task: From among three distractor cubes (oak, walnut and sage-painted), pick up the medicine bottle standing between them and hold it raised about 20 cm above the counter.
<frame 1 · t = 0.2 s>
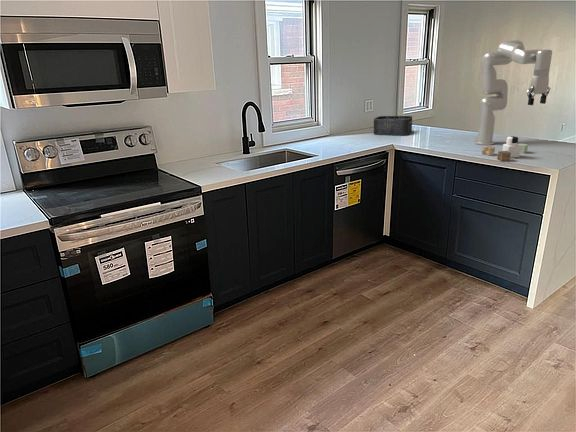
hand: (536, 104, 243), 31 cm above the countertop, tool pointing down, fingers open, 9 cm apart
sage cube: (521, 152, 264), on the countertop
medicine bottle: (510, 156, 255), on the countertop
oak cube: (487, 154, 263), on the countertop
walnut cube: (503, 160, 248), on the countertop
storage bin: (392, 133, 350), on the countertop
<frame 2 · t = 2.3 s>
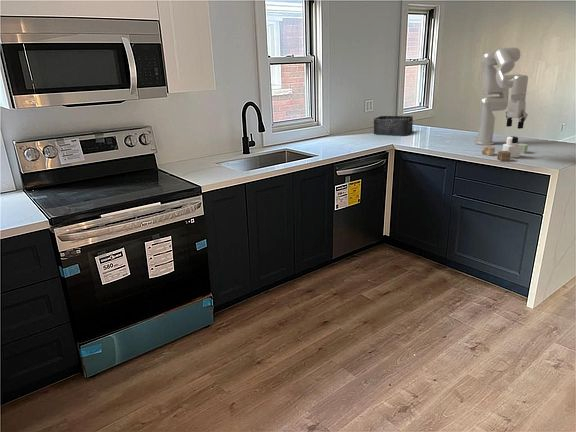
hand: (514, 127, 249), 18 cm above the countertop, tool pointing down, fingers open, 9 cm apart
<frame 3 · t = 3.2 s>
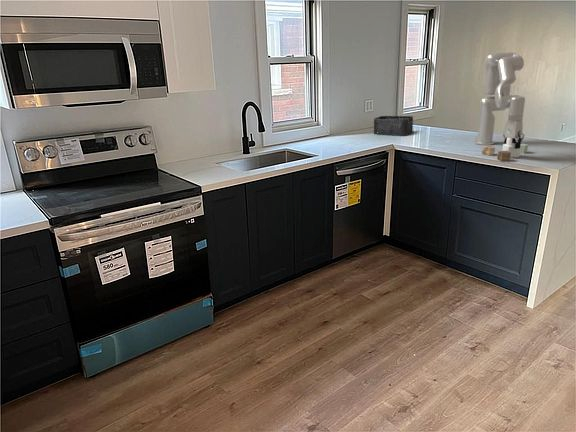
hand: (511, 147, 253), 6 cm above the countertop, tool pointing down, fingers open, 9 cm apart
nothing on the countertop moved.
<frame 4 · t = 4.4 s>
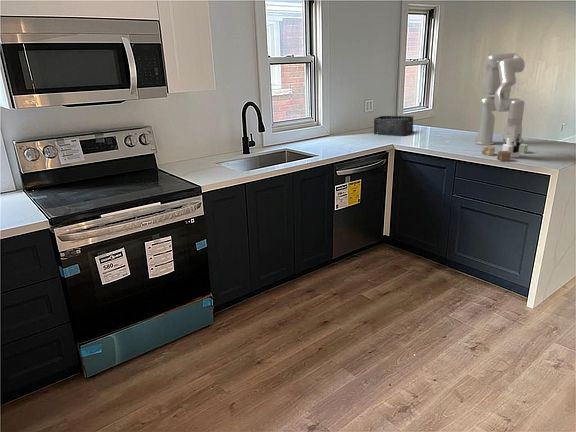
hand: (510, 150, 254), 3 cm above the countertop, tool pointing down, fingers closed on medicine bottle, 7 cm apart
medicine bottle: (510, 156, 255), on the countertop, touching gripper
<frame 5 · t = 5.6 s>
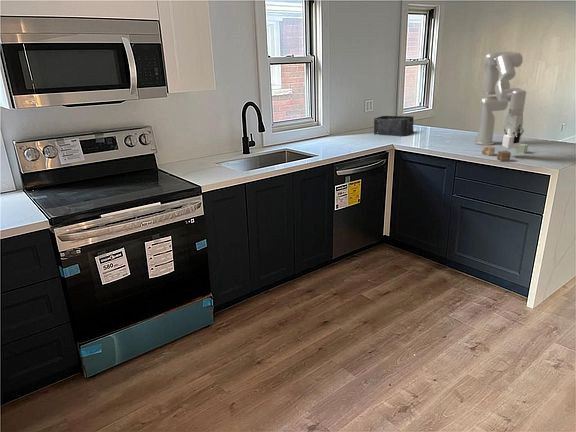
hand: (511, 141, 253), 9 cm above the countertop, tool pointing down, fingers closed on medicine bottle, 7 cm apart
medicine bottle: (510, 147, 254), point 5 cm above the countertop, touching gripper
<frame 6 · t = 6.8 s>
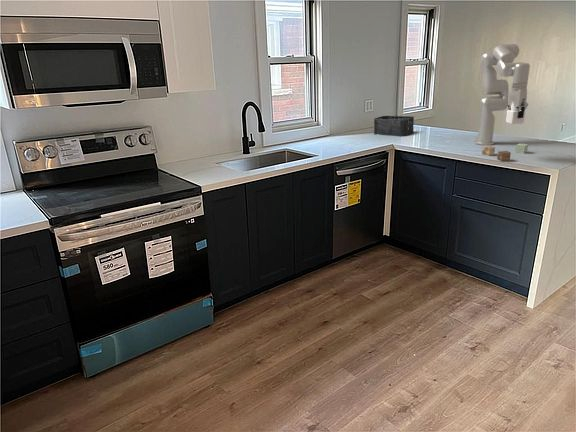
hand: (515, 116, 247), 24 cm above the countertop, tool pointing down, fingers closed on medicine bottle, 7 cm apart
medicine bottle: (514, 123, 248), point 20 cm above the countertop, touching gripper
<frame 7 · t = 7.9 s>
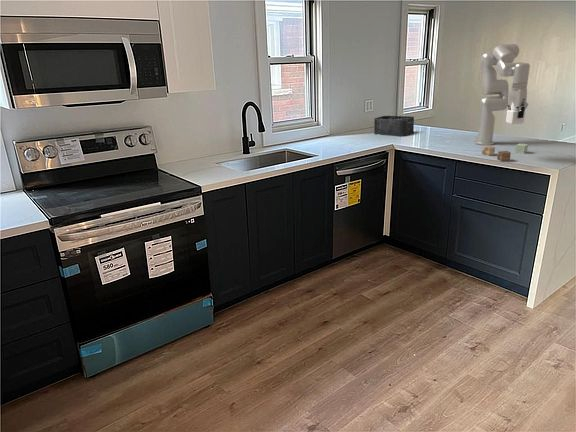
hand: (515, 116, 247), 24 cm above the countertop, tool pointing down, fingers closed on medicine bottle, 7 cm apart
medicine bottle: (514, 123, 248), point 20 cm above the countertop, touching gripper
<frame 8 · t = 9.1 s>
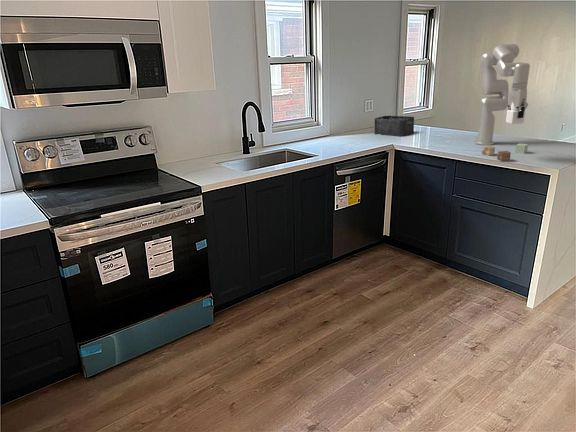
hand: (515, 116, 247), 24 cm above the countertop, tool pointing down, fingers closed on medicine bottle, 7 cm apart
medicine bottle: (514, 123, 248), point 20 cm above the countertop, touching gripper
at the end: the gripper is holding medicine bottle; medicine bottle point 20.0 cm above the countertop; walnut cube moved 0.1 cm from its start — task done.
